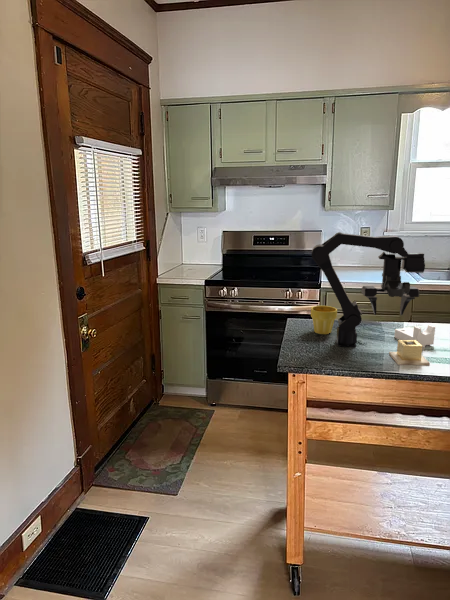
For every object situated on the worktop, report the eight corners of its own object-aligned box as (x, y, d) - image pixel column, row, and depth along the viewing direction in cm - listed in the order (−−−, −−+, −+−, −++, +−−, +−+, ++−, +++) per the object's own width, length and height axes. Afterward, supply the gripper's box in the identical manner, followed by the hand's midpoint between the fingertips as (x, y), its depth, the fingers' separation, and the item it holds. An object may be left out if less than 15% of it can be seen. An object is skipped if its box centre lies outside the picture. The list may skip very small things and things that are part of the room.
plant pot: (338, 335, 177) (340, 311, 174) (312, 335, 177) (313, 311, 175) (332, 328, 187) (334, 305, 185) (308, 328, 187) (308, 305, 185)
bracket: (433, 346, 165) (435, 326, 163) (416, 348, 163) (418, 328, 161) (409, 336, 177) (411, 317, 175) (394, 337, 175) (395, 319, 173)
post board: (398, 364, 147) (399, 347, 145) (389, 354, 156) (390, 338, 155) (429, 365, 146) (431, 348, 145) (418, 354, 156) (420, 338, 154)
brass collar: (402, 360, 148) (403, 345, 147) (396, 353, 154) (397, 340, 153) (421, 360, 148) (422, 346, 147) (414, 354, 154) (415, 340, 153)
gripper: (370, 275, 150) (367, 320, 154) (427, 276, 149) (422, 321, 153) (362, 270, 161) (359, 312, 165) (415, 270, 160) (411, 312, 164)
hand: (388, 314), depth 161 cm, fingers open, 9 cm apart
